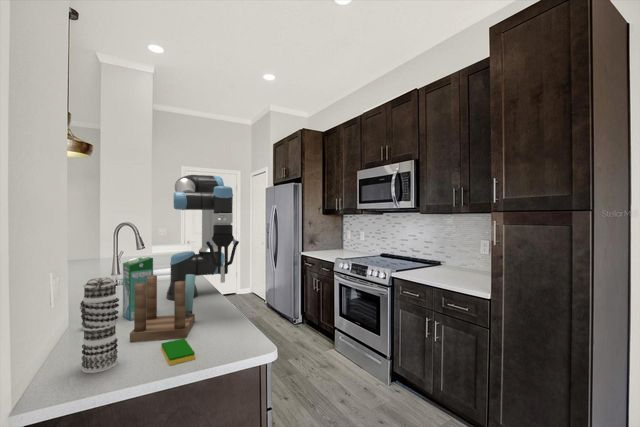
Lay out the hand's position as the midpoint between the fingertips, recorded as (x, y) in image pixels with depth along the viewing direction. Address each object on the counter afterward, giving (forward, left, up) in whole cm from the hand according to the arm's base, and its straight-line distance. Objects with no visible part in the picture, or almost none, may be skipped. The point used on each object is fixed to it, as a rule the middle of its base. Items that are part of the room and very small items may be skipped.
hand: (222, 281), depth 130 cm
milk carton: (-15, -36, -16) cm, 42 cm away
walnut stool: (+6, -20, -16) cm, 27 cm away
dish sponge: (+28, -11, -17) cm, 35 cm away
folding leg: (0, -14, -11) cm, 17 cm away
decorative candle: (+32, -31, -16) cm, 48 cm away
